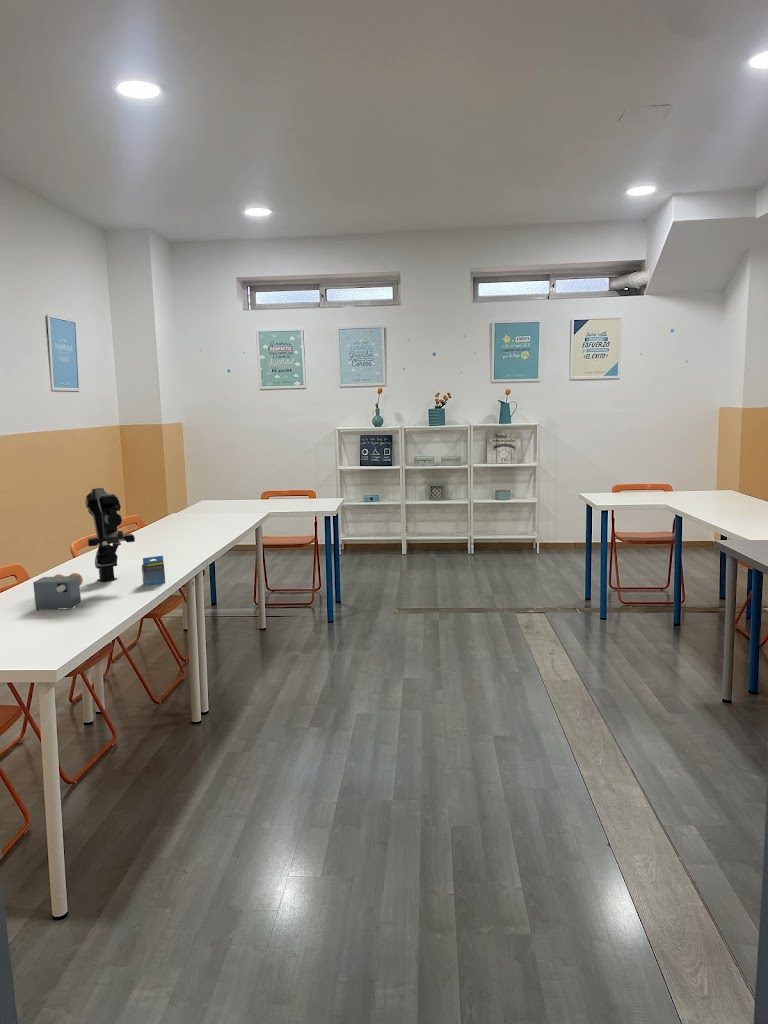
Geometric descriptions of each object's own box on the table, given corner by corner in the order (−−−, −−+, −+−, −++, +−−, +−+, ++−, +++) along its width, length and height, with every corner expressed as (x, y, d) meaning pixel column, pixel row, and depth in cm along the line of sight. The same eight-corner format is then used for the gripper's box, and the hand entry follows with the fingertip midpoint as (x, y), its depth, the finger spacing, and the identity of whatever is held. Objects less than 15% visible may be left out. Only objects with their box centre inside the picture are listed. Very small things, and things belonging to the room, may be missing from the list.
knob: (69, 586, 303) (68, 573, 302) (83, 586, 303) (82, 572, 302) (53, 596, 287) (51, 582, 286) (67, 596, 287) (66, 582, 286)
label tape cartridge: (163, 581, 332) (161, 554, 330) (165, 583, 328) (163, 555, 327) (142, 584, 328) (140, 556, 326) (144, 586, 324) (142, 558, 322)
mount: (50, 601, 303) (47, 574, 302) (85, 599, 303) (82, 573, 302) (36, 610, 290) (33, 582, 289) (72, 608, 291) (69, 581, 289)
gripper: (88, 528, 309) (91, 565, 311) (135, 524, 317) (138, 560, 319) (85, 525, 319) (89, 560, 321) (131, 520, 327) (134, 555, 329)
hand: (112, 559), depth 322 cm, fingers closed
